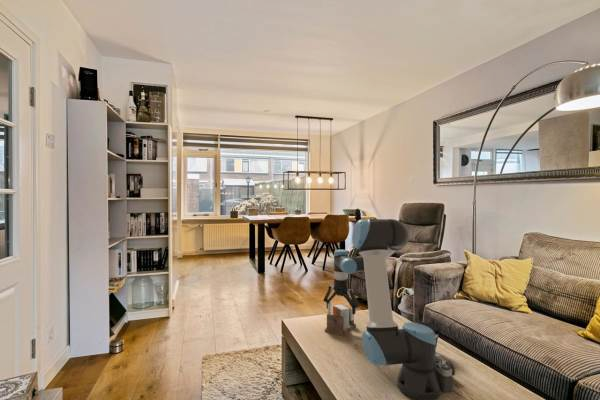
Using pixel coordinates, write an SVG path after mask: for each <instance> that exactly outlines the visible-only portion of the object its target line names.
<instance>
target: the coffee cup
mask: <svg viewBox="0 0 600 400" xmlns="http://www.w3.org/2000/svg"><path fill="white" fill-rule="evenodd" d="M417 323H418V324H421V325H424V326H427V327H429V328H430V329H432V330H433V331H434V333H435V337H436V347H437V345H438V339H439V334H440V333H441V332H440V331H441V329H439V326H437V325H436V324H433V323H431V322H417Z"/></svg>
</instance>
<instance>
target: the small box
mask: <svg viewBox="0 0 600 400" xmlns="http://www.w3.org/2000/svg"><path fill="white" fill-rule="evenodd" d="M332 308H333V309H332V310H333V311H332V315H336V316H341V317H344V328H343V329H346V328H349V307H346V306H345V305H344V304H335V305H332Z"/></svg>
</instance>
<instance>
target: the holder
mask: <svg viewBox="0 0 600 400" xmlns="http://www.w3.org/2000/svg"><path fill="white" fill-rule="evenodd" d="M348 308H349V307H348ZM356 325H357V324H356V323H355V319H354V320H352V321H351V308H349V328H346V329H343V328H344V317H341V316H336V315H333V313H331V314H328V313H327V314H326V328H324V332H325V333H329V334H332V335H337V336H340V337H345V336H346V335H347V334H348V333H349V332H350V331H352V330H353V328H355V327H356Z"/></svg>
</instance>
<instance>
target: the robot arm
mask: <svg viewBox="0 0 600 400" xmlns="http://www.w3.org/2000/svg"><path fill="white" fill-rule="evenodd" d="M409 239H410V233H409V230H408V228H407V226H406V225H405V224H404V223H403V222H401V221H400V220H398V219H393V218H388V219H387V218H383V219H382V218H380V219H379V218H374V219H373V218H367V219H359V220H357V222H355V224H354V227H353V231H352V240H351V241H352V244H353V247H354V248H355V249H356V250H358V255H360V256H349V251H348V250H347V249H335V250H334V252H333V278H334V279H333V285H332V284H330V285H329V286H328V290H327V291H326V294H325V296H324V298H323V299H322V300H323V302H325V303H326V309H327V314H332V302H331V301H333V299H334V298H335V297H336V296H339V297H344V298H345V300H346V301H347V303H348V304H349V306H350V307H351V308H350V309H351V321H352V320H354V321H355V314H356V309H358V307H360V305H359V301H358V299H357V298H356V295H355V292H354V288H349V287H348V286H349V282H348V281H349V280H348V278H349V275H351V274H354V273H360V272H364V277H365V279H364V280H365V288H366V298H367V299H366V300H367V308H368V317H369V321H368V322H367V324H366V325H365V326H366V327H365V328H366V330H364V331H363V332H362V334H361V345H362V348H363V352H364V354H365V356H366V358H367V360H368V362H369V363H370V364H371V365H373V366H377V367H378V366H383V367H386V366H391V365H401V364H402V365H401V367H400V370H399V373H398V376H397V388H398V389H399V390H400V391H401V392H402V393H403V394H405V395H406V396H408V397H409V398H413V399H415V400H435V399H438V398H439V397H440V396H441V390H440V383H439V380H438V377H437V374H436V370H435V362H436V354H437V352H436V349H437V346H436V337H435V333H434V331H433V330H432V329H430V328H429V327H427V326H424V325H421V324H418V323H419V322H410V321H408V322H407V321H406V322H404V323H403V324H402V328H400V329H399V326H398V324H397V323H396V322H395V321H394V318H393V310H392V302H391V293H390V286H389V278H388V268H387V262H386V261H387V259H389V258H390V257H391V256H392V255H393V254H394V253H395V252H399V251H400V250H403V248H405V247H406V246H407V245H408V243H409ZM332 291H334V292H333V293H332ZM330 295H331V296H330Z"/></svg>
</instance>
